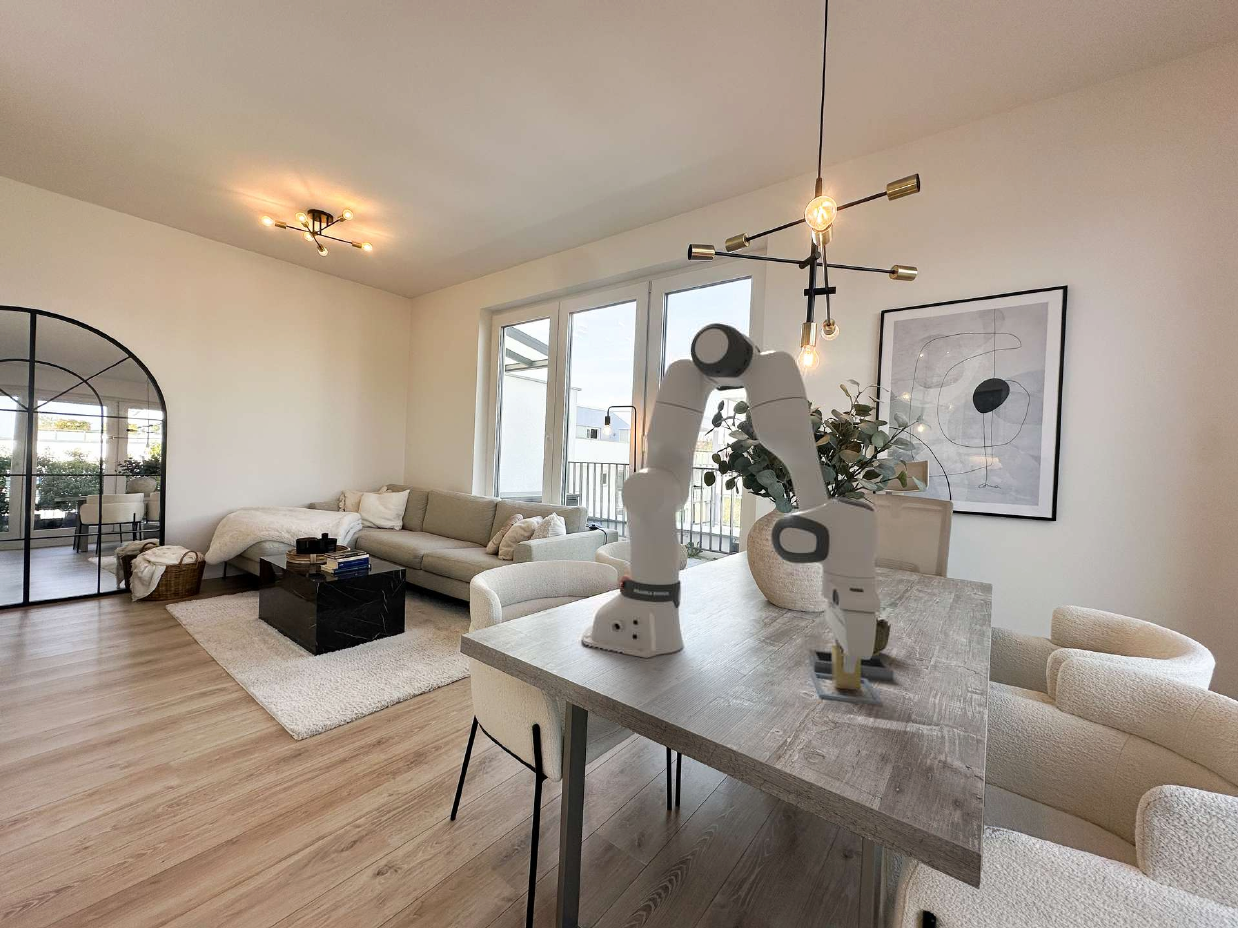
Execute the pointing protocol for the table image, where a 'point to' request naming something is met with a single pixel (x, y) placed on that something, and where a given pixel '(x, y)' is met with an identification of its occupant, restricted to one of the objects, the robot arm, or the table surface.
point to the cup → (881, 636)
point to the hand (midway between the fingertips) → (844, 665)
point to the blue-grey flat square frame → (874, 701)
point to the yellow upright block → (840, 676)
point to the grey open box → (869, 668)
